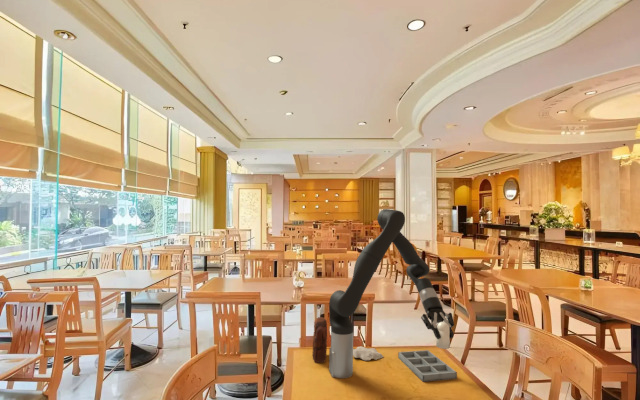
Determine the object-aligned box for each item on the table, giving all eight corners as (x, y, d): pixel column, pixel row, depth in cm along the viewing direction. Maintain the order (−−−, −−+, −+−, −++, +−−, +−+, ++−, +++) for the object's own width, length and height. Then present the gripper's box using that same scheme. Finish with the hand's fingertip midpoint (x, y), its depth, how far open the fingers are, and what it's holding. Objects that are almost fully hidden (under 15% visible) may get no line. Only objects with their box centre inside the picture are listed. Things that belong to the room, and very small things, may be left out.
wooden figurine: (312, 352, 159) (312, 314, 159) (325, 352, 159) (326, 314, 160) (312, 363, 147) (313, 322, 148) (327, 363, 147) (328, 322, 148)
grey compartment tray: (422, 381, 132) (422, 375, 133) (398, 357, 154) (398, 352, 155) (456, 378, 135) (456, 372, 136) (428, 355, 157) (428, 350, 158)
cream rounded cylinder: (440, 349, 136) (440, 324, 136) (433, 344, 141) (433, 320, 141) (452, 348, 137) (452, 323, 137) (445, 343, 142) (445, 319, 142)
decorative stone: (352, 362, 150) (385, 365, 151) (353, 354, 150) (386, 357, 151) (349, 349, 161) (379, 352, 162) (350, 341, 160) (380, 344, 161)
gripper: (418, 296, 146) (433, 334, 133) (448, 295, 148) (465, 332, 136) (412, 305, 151) (426, 343, 138) (441, 304, 153) (457, 341, 141)
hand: (445, 337), depth 137 cm, fingers closed on cream rounded cylinder, 5 cm apart
